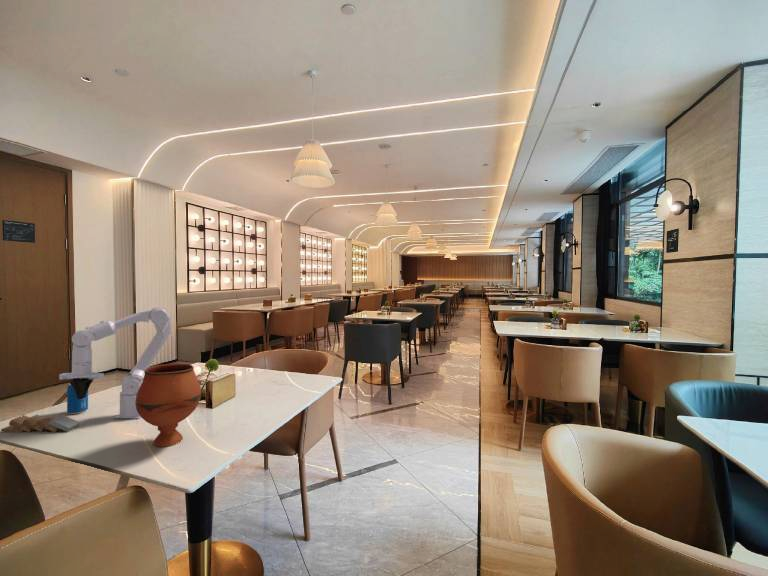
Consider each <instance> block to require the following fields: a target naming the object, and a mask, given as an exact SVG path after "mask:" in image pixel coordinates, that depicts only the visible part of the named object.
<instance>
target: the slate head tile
mask: <svg viewBox="0 0 768 576" xmlns="http://www.w3.org/2000/svg"><path fill="white" fill-rule="evenodd" d="M49 425H51V426H54V427H56V428H59V429H61V430H62V431H64V432H67V433H68V432H70V431H73V430H74V428H75V429H76V427H77V428H78V427H79V426H80V425H81V421H78V420H75V419H73V418H72V417H68V416H67V415H63V414H61V415H60V416H57V417H55V418H54V419H52V420H50V422H49ZM72 429H73V430H72ZM61 430H60V431H61Z"/></svg>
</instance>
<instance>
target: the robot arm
mask: <svg viewBox="0 0 768 576" xmlns="http://www.w3.org/2000/svg"><path fill="white" fill-rule="evenodd" d="M150 321H151V322H152V323H153V325H154V328H155V330H156V332H155V335H154V336H153V338H151V340H150V342H149V344H148V345H147V346H146V348H145V350H144V352H143V353H142V354H141V356H140V357H139V358H138V360H137V362H136V364H135V365H134V367H133V368H132V369H131V370H130V371H129V373H128V374H126V375H125V376H123V378H122V379H121V382H120V383H121V391H120V393H119V414H117V415H115V416H114V417H113V419H140V418H141V417H140V415H139V414H138V412H137V410H136V405H135V401H136V395H137V392H138V390H139V388H140V386H141V384H142V382H143V378H144V375H145V373H144V371H145V370H146V369H147V368H149V367H152V364H153V362H154V361H155V360H156V358H157V355H159V353H160V352H161V350H162V348H163V347H164V345H165V344H166V342H167V340H168V339H169V337H170V335H171V334H172V327H171V316H170V315H169V313H168V312H167V310H166V309H164V308H162V307H160V306H157V307H156V306H155V307H153V308H149V309H146V310H145V309H144V310H142V311H138V312H136V313H133V314H130V315H128V316H126V317H122V318H121V319H118V320H116V321H111V320H101V321H99V323H96V324H94V325H92V326H86V327H84V329H79V330H77V331H75V333H74V334H73V335H72V336H71V341H72V344H73V345H72V350H71V372H64V373H60V374H59V380H61V381H63V380H71V381H69V383H70V384H71V385H72V387H73V388H74V390H75V392H76V395H77V398H78V399H83V398H85V397H86V394H87V391H88V392H89V388H90V387H91V384H92V383H93V382H94V380H98V381H100V380H103V379H104V378H105V373H103V372H93V348H92V342H96V341H99V340H102V339H105V338H107V337H110V336H112V335H115V334H116V333H117V331H118V330H120V329H122V328H125V327H128V326H131V325H134V324H137V323H140V322H142V323H150Z"/></svg>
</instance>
